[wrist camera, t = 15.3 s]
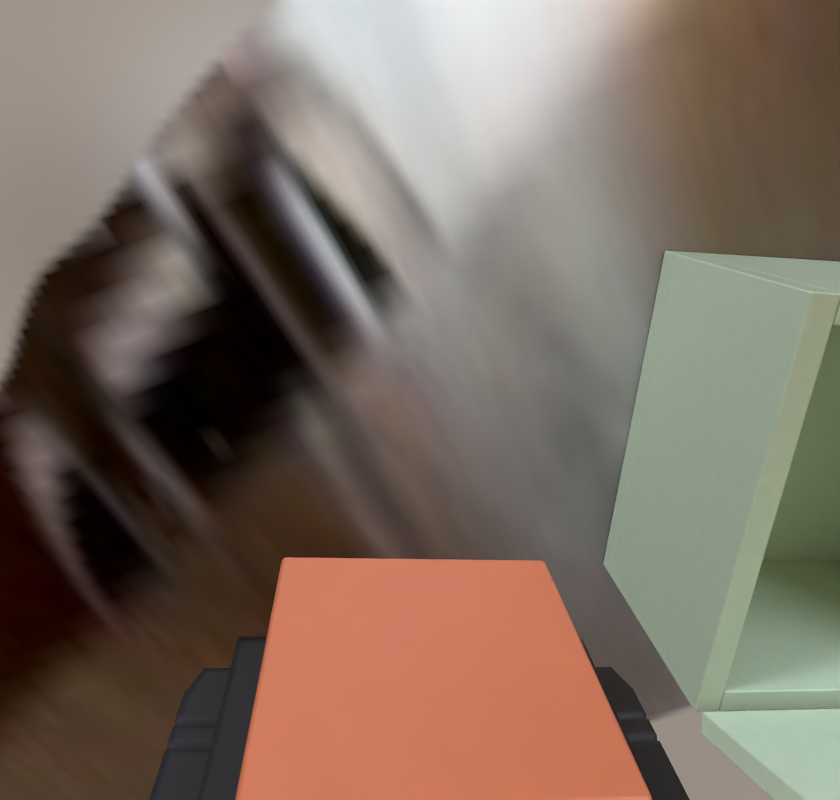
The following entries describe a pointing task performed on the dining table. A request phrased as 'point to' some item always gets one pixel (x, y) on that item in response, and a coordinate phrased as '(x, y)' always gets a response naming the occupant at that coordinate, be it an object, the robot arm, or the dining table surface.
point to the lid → (782, 749)
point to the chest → (737, 482)
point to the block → (429, 688)
